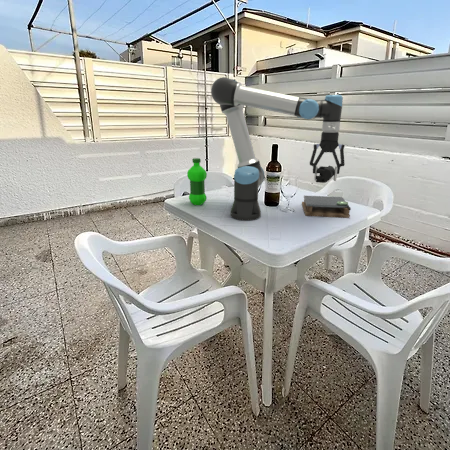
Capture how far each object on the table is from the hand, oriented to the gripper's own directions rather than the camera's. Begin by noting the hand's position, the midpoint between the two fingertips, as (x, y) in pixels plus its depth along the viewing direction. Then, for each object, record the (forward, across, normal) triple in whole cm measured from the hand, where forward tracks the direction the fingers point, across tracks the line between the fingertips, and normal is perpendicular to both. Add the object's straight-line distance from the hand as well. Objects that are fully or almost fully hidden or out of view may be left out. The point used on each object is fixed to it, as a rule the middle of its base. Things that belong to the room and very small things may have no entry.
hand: (324, 180), depth 143 cm
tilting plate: (+13, +2, +6) cm, 14 cm away
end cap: (+1, 0, 0) cm, 1 cm away
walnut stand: (+17, +2, +6) cm, 18 cm away
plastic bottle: (+17, -66, +4) cm, 68 cm away
